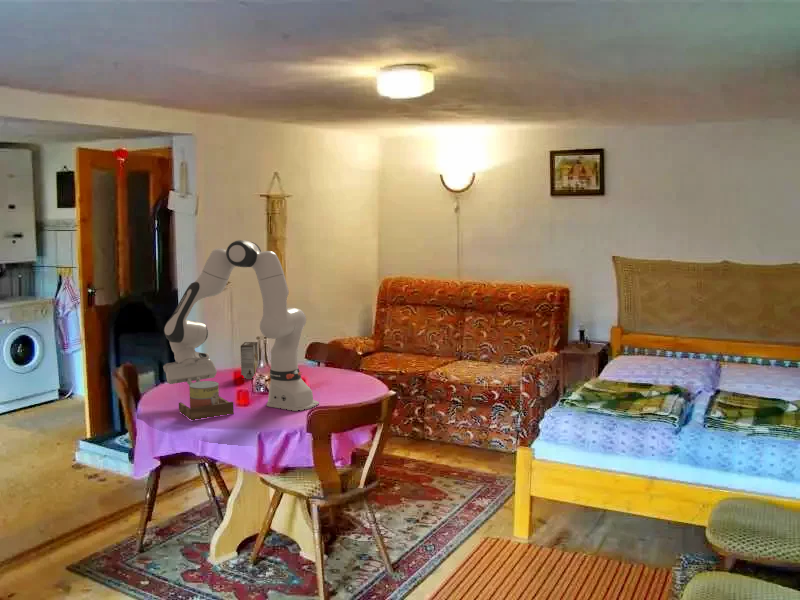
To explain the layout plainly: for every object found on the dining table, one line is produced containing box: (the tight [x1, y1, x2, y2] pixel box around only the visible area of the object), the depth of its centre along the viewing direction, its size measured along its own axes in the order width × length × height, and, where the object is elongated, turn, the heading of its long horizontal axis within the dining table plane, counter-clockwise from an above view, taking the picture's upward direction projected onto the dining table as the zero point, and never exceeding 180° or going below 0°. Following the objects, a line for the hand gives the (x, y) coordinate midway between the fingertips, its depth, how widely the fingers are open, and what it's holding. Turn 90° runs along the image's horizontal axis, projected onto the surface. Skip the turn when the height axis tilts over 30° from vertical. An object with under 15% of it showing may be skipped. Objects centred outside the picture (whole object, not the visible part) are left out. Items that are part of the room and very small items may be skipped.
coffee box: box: [240, 341, 259, 380], centre depth 360 cm, size 9×6×16 cm
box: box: [178, 396, 235, 420], centre depth 301 cm, size 14×17×5 cm
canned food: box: [188, 380, 220, 408], centre depth 300 cm, size 11×11×12 cm
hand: (196, 388), depth 309 cm, fingers closed
